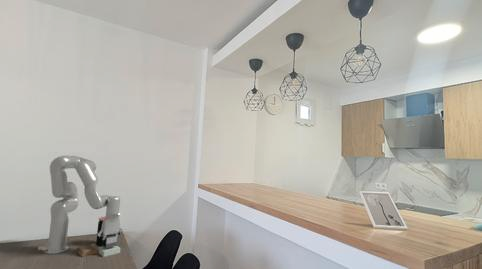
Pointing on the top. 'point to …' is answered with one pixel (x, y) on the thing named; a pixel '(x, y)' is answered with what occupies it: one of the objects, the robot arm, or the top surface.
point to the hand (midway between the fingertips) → (109, 244)
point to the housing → (110, 241)
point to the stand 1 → (88, 250)
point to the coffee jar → (99, 240)
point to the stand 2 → (108, 250)
